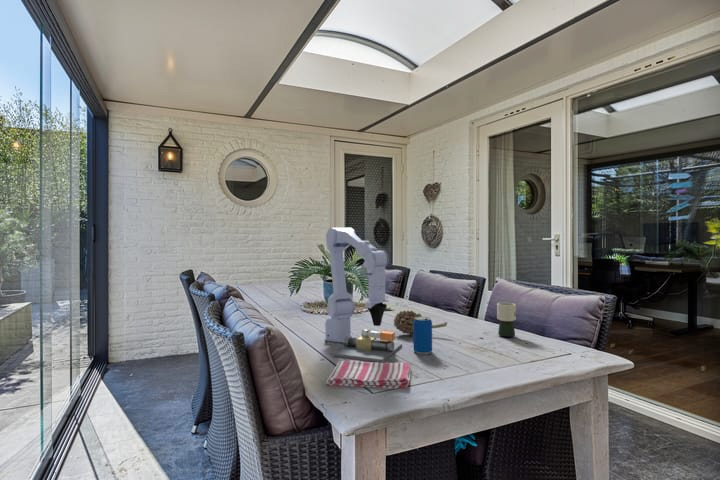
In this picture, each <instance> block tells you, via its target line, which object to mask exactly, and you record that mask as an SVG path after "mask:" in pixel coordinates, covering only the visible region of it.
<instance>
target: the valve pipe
mask: <svg viewBox="0 0 720 480" xmlns="http://www.w3.org/2000/svg"><path fill="white" fill-rule="evenodd" d="M351 336H352V335H351ZM351 336H347V337H346V338H345V340H344V344H343V345H344V347H345V346H346V347H349V346H351V347H356V349H360V350H369V351H371V350H373V349H377V350H385V351H387V352H391V351H393V350H394V343H395V342H394V340H393V341H386V340H380V339H377V338H373V337H370V338H362V335H360V336H358V337H355V338H352V337H353V336H352V337H351Z"/></svg>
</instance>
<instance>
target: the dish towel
mask: <svg viewBox="0 0 720 480" xmlns="http://www.w3.org/2000/svg"><path fill="white" fill-rule="evenodd" d="M410 380H411V362H383V363H381V362H369V361H368V362H366V361H362V360H340V361H338V363H337V364H336V366H335V367H334V369H333V370H332V372H331V374H330V375H329V377H328V378H327V380H326V382H325V383H326V386H334V387H335V386H337V387H338V386H340V387H361V388H362V387H365V388H381V389H401V390H402V389H403V390H405V389H407V388H408V386H409V384H410Z"/></svg>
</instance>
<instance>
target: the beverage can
mask: <svg viewBox="0 0 720 480" xmlns="http://www.w3.org/2000/svg"><path fill="white" fill-rule="evenodd" d="M431 319H432V318H431V317H429V316H422V317H415V320H414V321H413V334H412V335H413V351H414V352H415V353H416V354H418V355H428V354H430V353H431V352H433V328H432V325H433V321H432V320H431Z"/></svg>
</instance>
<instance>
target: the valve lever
mask: <svg viewBox="0 0 720 480" xmlns="http://www.w3.org/2000/svg"><path fill="white" fill-rule="evenodd" d="M361 336H362V338H370V337H373V338H376V339H379V340H381V341H393V342H394V341H395V339H396V334H395V332H394V331H386V330H382V331H377V330H371V329H370V328H362V329H361Z"/></svg>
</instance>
